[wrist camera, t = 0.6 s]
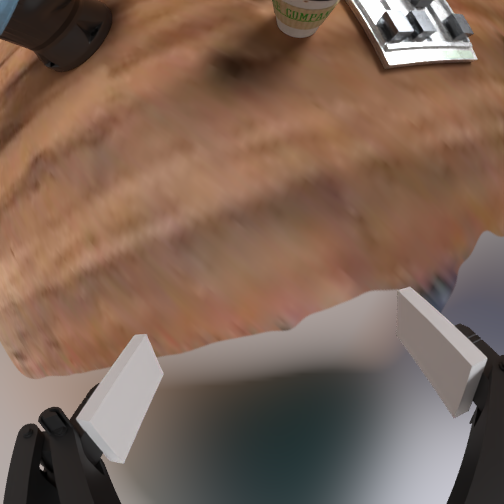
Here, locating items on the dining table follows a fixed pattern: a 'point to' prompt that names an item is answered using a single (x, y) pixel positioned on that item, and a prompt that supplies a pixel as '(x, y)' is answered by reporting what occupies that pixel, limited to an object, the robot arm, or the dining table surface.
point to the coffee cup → (302, 15)
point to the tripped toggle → (421, 3)
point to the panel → (401, 6)
